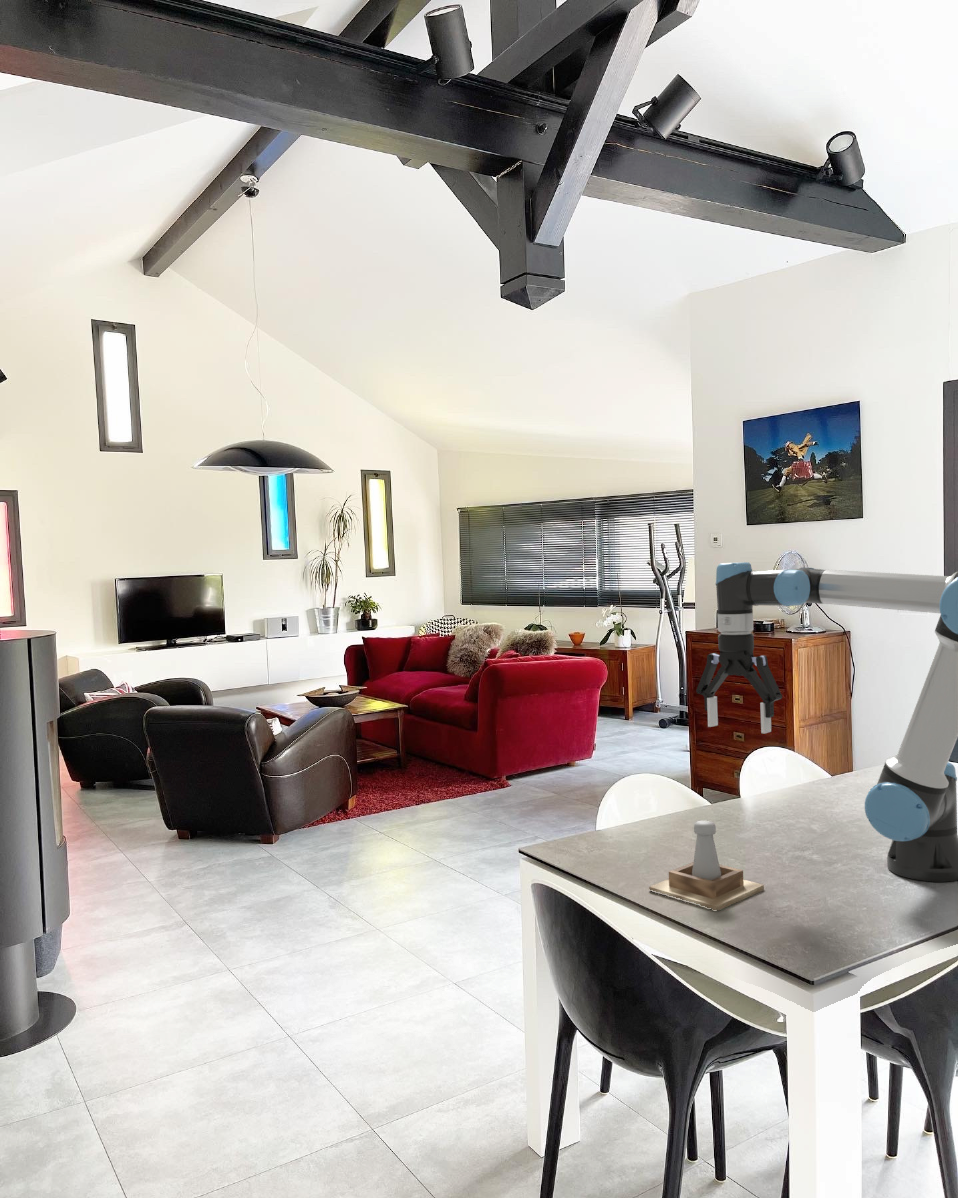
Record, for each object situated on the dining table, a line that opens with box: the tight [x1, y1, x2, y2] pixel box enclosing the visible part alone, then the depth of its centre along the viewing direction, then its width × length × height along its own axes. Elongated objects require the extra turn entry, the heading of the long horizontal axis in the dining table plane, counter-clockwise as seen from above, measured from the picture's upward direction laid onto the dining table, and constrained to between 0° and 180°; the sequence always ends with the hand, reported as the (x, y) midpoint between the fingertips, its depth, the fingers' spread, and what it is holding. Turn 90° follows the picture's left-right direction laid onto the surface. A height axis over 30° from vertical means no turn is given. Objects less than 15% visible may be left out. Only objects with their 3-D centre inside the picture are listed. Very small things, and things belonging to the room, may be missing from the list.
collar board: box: [648, 861, 765, 911], centre depth 186 cm, size 16×16×4 cm
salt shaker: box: [692, 819, 721, 881], centre depth 186 cm, size 6×6×13 cm
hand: (739, 729), depth 204 cm, fingers open, 13 cm apart
